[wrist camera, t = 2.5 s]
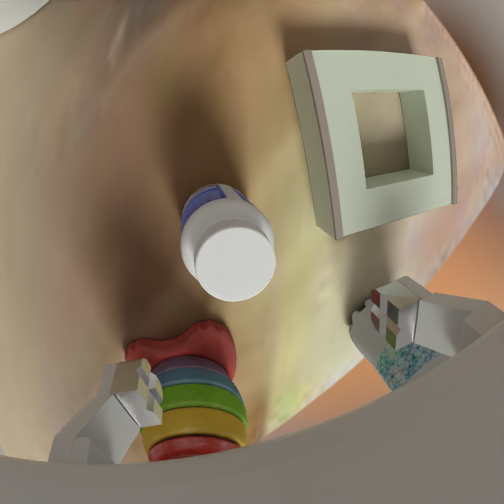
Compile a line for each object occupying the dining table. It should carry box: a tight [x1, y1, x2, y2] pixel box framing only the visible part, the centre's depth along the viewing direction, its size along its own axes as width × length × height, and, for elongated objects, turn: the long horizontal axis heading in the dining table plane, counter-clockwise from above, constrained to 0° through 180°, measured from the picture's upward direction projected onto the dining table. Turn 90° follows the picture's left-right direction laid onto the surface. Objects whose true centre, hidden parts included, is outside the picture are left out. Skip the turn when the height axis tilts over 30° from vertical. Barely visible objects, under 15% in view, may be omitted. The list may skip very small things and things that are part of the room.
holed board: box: [286, 50, 457, 240], centre depth 21 cm, size 14×14×4 cm
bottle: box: [349, 299, 451, 391], centre depth 21 cm, size 7×7×20 cm
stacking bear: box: [125, 320, 247, 462], centre depth 20 cm, size 11×10×18 cm
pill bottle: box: [181, 184, 276, 301], centre depth 19 cm, size 5×5×10 cm
